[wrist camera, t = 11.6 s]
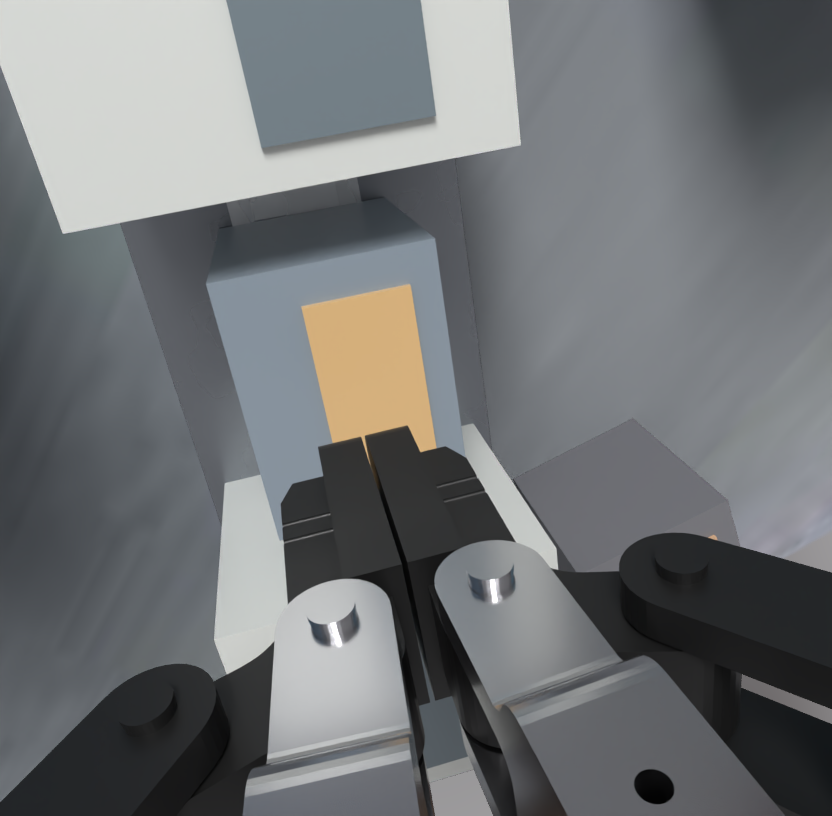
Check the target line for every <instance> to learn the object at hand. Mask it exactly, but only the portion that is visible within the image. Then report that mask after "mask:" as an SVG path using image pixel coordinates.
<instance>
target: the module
mask: <svg viewBox="0 0 832 816" xmlns="http://www.w3.org/2000/svg"><path fill="white" fill-rule="evenodd" d="M206 286H207V290H208V293H209V297H210V300H211V304H212V307H213V311H214V314H215V318H216V321H217V325H218V328H219V332H220V335H221V339H222V342H223V346H224V349H225V353H226V356H227V359H228V363H229V366H230V370H231V373H232V377H233V380H234V384H235V387H236V391H237V394H238V398H239V401H240V405H241V408H242V412H243V415H244V419H245V422H246V426H247V429H248V433H249V436H250V440H251V443H252V447H253V450H254V454H255V457H256V461H257V464H258V468H259V471H260V474H261V478H262V481H263V485H264V488H265V492H266V495H267V499H268V502H269V506H270V509H271V513H272V516H273V520H274V523H275V527H276V530H277V534H278V537H279V541H281V540H283V531H282V528H283V526H282V517H281V502H282V501H283V499H284V497H285V495H286V494H287V492H288V490H289V489H290V487H291V485H292V484H293V483H297V482H301V481H305V480H309V479H314V478H318V477H322V476H323V472H322V467H321V461H320V456H319V451H318V447H319V446H323V445H327V444H331V443H336V442H340V441H344V440H348V439H352V438H357V437H361V438H362V441H363V444H364V447H365V450H366V453H367V457H368V452H367V447H366V442H365V435H369V434H373V433H377V432H381V431H385V430H389V429H394V428H398V427H402V426H406V425H407V426H408V427H409V429H410V431H411V433H412V435H413V437H414V440H415V442H416V444H417V446H418V448H419V450H420V452H423V451H427V450H432V449H436V448H440V447H444V446H446V447H448V448H450V449H452V450H453V451H455V452H457V453H459V454H461V455H462V456H464V457H465V450H464V443H463V435H462V428H461V421H460V414H459V407H458V399H457V392H456V385H455V378H454V371H453V364H452V356H451V349H450V342H449V335H448V328H447V321H446V313H445V306H444V299H443V292H442V285H441V277H440V270H439V263H438V256H437V249H436V242H435V238H434V237H433V236H432V235H430V234H429V233H428V232H427V231H425V230H424V229H423V228H422V227H421V226H419V225H418V224H417V223H416V222H414V221H413V220H412V219H411V218H409V217H408V216H407V215H406V214H404V213H403V212H402V211H401V210H400V209H398V208H397V207H396V206H395V205H393V204H392V203H391V202H390V201H388V200H387V199H386V198H385V197H383V198H378V199H372V200H367V201H362V202H357V203H352V204H346V205H341V206H336V207H331V208H325V209H320V210H315V211H310V212H305V213H299V214H294V215H289V216H284V217H278V218H273V219H268V220H263V221H258V222H252V223H247V224H242V225H237V226H231V227H226V228H221V229H219V231H218V235H217V239H216V243H215V248H214V252H213V256H212V260H211V265H210V269H209V273H208V277H207V282H206ZM368 460H369V457H368ZM369 463H370V461H369Z"/></svg>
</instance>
